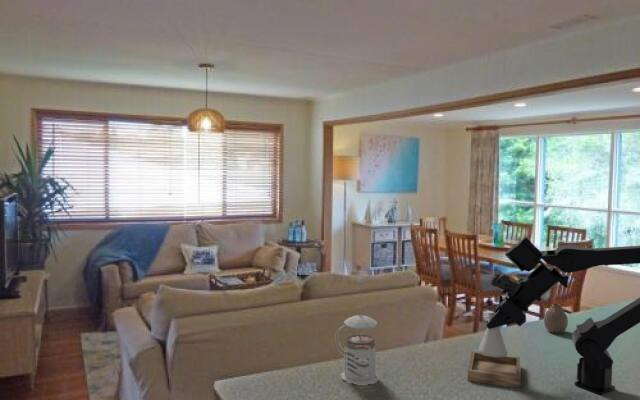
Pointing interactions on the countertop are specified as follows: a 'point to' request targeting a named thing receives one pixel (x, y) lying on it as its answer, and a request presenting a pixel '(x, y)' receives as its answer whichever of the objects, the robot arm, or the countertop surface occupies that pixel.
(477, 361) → the wooden tray
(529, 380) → the countertop surface
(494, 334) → the flask
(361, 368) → the french press
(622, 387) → the countertop surface
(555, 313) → the vase
